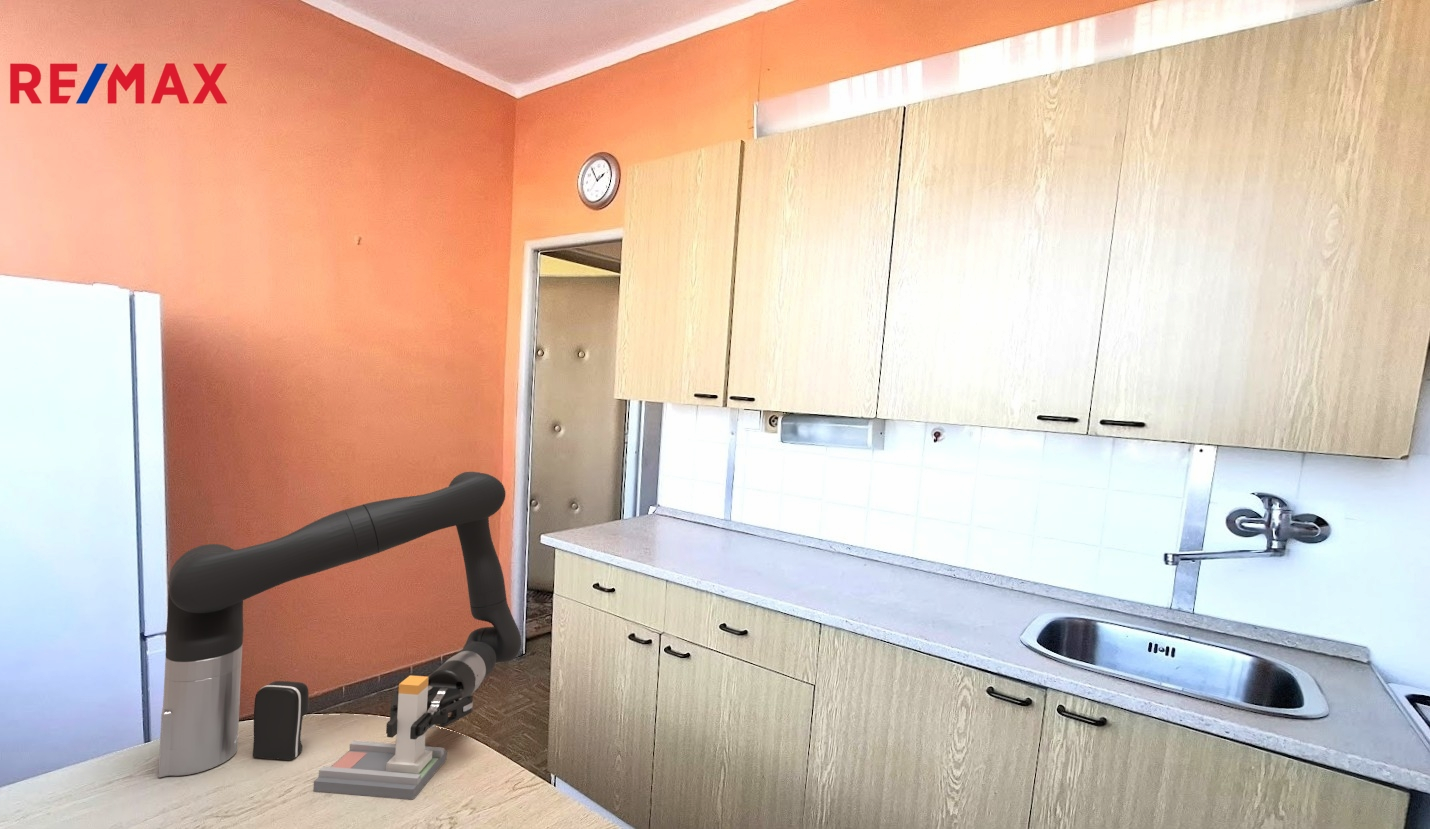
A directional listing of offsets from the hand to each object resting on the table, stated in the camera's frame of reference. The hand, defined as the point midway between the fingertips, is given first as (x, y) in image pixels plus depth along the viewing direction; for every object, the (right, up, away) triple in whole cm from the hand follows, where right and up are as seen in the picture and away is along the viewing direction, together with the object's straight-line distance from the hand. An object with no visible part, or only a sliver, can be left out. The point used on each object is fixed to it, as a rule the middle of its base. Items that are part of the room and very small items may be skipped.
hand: (401, 732), depth 89 cm
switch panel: (-4, -8, +3) cm, 10 cm away
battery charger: (-23, -7, +7) cm, 25 cm away
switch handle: (0, -7, +3) cm, 7 cm away
